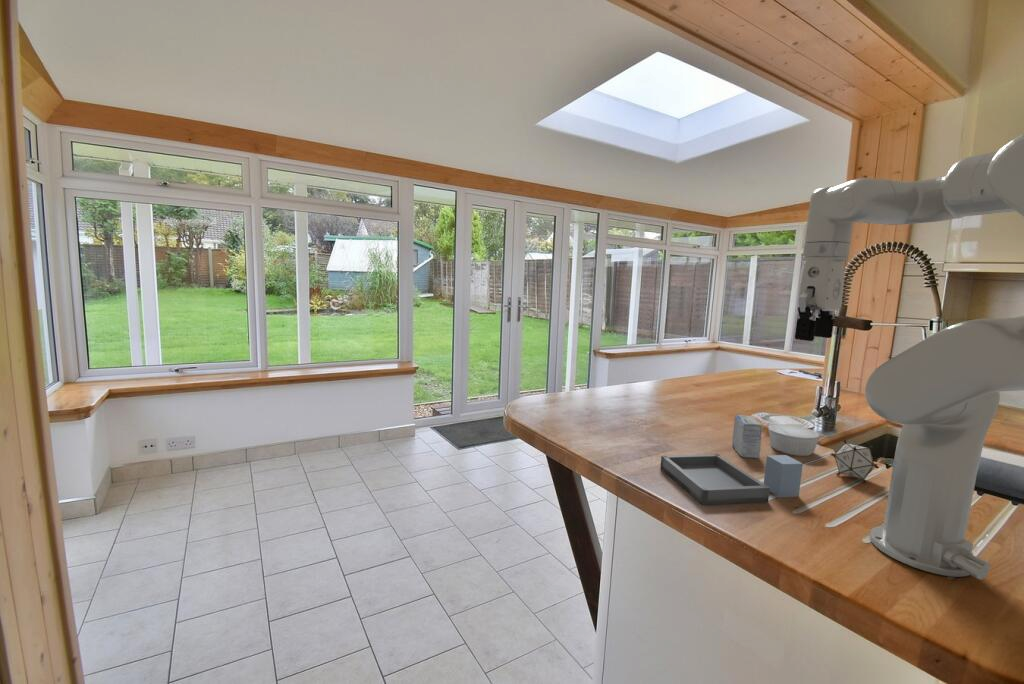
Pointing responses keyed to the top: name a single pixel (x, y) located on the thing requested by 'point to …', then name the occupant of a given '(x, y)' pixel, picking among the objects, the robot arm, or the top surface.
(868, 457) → the game die
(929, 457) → the robot arm
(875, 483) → the top surface
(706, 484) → the tray
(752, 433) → the medicine box
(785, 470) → the slate block
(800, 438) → the ramekin
